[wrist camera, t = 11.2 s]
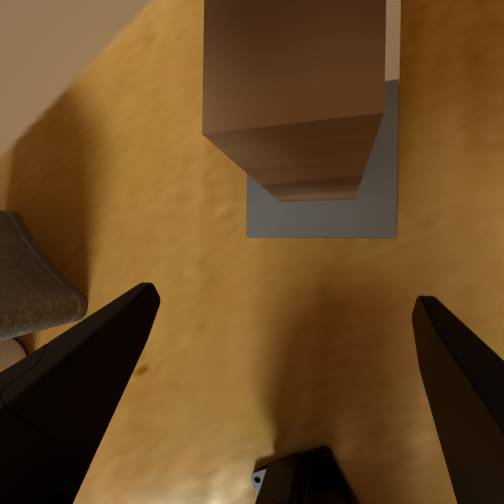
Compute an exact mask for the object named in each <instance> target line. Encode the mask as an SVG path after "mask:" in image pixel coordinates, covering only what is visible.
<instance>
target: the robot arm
mask: <svg viewBox="0 0 504 504" xmlns="http://www.w3.org/2000/svg"><path fill="white" fill-rule="evenodd" d="M159 305H160V296H159V294H158V292H157V290H156V288H155V286H154V285H153V284H152V283H147V282H142V283H140V284H138V285H137V286H135V287H134V288H132V289H130V290H129V291H127V292H126V293H124V294H123V295H121V296H120V297H118V298H116V299H115V300H113V301H112V302H110V303H109V304H107V305H106V306H104V307H103V308H101V309H99V310H98V311H96V312H95V313H93V314H92V315H90V316H89V317H87V318H86V319H84V320H82V321H81V322H79V323H78V324H76V325H75V326H73V327H72V328H70V329H68V330H67V331H65V332H64V333H62V334H61V335H59V336H58V337H56V338H55V339H53V340H51V341H50V342H49V343H47V344H45V345H44V346H42V347H41V348H39V349H37V350H36V351H34V352H33V353H31V354H30V355H28V356H26V357H25V358H23V359H22V360H20V361H18V362H17V363H15V364H13V365H12V366H10V367H8V368H6V369H5V370H3V371H1V372H0V504H73V502H74V500H75V497H76V495H77V493H78V491H79V489H80V486H81V484H82V482H83V480H84V478H85V476H86V473H87V471H88V469H89V467H90V464H91V462H92V460H93V458H94V456H95V453H96V451H97V449H98V447H99V445H100V443H101V440H102V438H103V436H104V434H105V432H106V429H107V427H108V425H109V423H110V421H111V419H112V416H113V414H114V412H115V410H116V408H117V405H118V403H119V401H120V399H121V397H122V395H123V392H124V390H125V388H126V386H127V384H128V381H129V379H130V377H131V375H132V373H133V371H134V368H135V366H136V364H137V362H138V360H139V357H140V355H141V353H142V351H143V349H144V347H145V344H146V342H147V340H148V337H149V334H150V332H151V329H152V326H153V323H154V320H155V317H156V314H157V311H158V308H159ZM412 323H413V330H414V336H415V343H416V350H417V356H418V362H419V368H420V372H421V376H422V380H423V384H424V387H425V391H426V394H427V398H428V401H429V405H430V408H431V412H432V415H433V419H434V423H435V426H436V430H437V433H438V437H439V440H440V444H441V447H442V451H443V454H444V458H445V461H446V465H447V468H448V472H449V476H450V479H451V483H452V486H453V490H454V493H455V497H456V500H457V504H504V360H503V359H501V358H500V357H499V356H498V355H497V354H496V353H495V352H494V351H493V350H492V349H491V348H490V347H489V346H487V345H486V344H485V343H484V342H483V341H482V340H481V339H480V338H479V337H478V336H477V335H476V334H475V333H473V332H472V331H471V330H470V329H469V328H468V327H467V326H466V325H465V324H464V323H463V322H462V321H460V320H459V319H458V318H457V317H456V316H455V315H454V314H453V313H452V312H451V311H450V310H449V309H448V308H446V307H445V306H444V305H443V304H442V303H441V302H440V301H439V300H438V299H437V298H435V297H434V296H418V297H417V299H416V303H415V306H414V310H413V313H412ZM322 454H327V455H328V457H324V456H323V455H322ZM256 476H258V477H260V479H258V478H257V477H256ZM251 480H252V483H253V485H254V487H255V489H256V492H257V494H258V496H257V499H256V503H255V504H359V502H358V500H357V498H356V496H355V494H354V492H353V490H352V488H351V486H350V485H349V483H348V481H347V479H346V477H345V475H344V473H343V471H342V469H341V467H340V465H339V463H338V461H337V460H336V458H335V456H334V454H333V452H332V450H331V449H330V448H329V447H327V446H321V447H318V448H316V449H313V450H310V451H307V452H304V453H295V454H292V455H289V456H286V457H283V458H280V459H277V460H274V461H271V462H269V463H268V465H266V466H263V467H260V468H257V469H255V470H254V471H253V473H252V476H251Z"/></svg>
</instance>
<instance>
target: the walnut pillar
mask: <svg viewBox="0 0 504 504" xmlns="http://www.w3.org/2000/svg"><path fill="white" fill-rule="evenodd" d="M385 45H386V0H204V57H203V127H202V134H203V135H204V136H205V137H206V138H207V139H209V140H210V141H211V142H212V143H213V144H214V145H215V146H217V147H218V148H219V149H220V150H221V151H222V152H224V153H225V154H226V155H227V156H228V157H229V158H230V159H232V160H233V161H234V162H235V163H236V164H237V165H238V166H240V167H241V168H242V169H243V170H244V171H245V172H246V173H248V174H249V175H250V176H251V177H252V178H253V179H254V180H256V181H257V182H258V183H259V184H260V185H261V186H262V187H264V188H265V189H266V190H267V191H268V192H269V193H270V194H272V195H273V196H274V197H275V198H276V199H277V200H279V201H280V202H299V201H326V200H353V199H355V198H356V195H357V192H358V189H359V186H360V183H361V180H362V177H363V174H364V171H365V168H366V165H367V162H368V159H369V156H370V153H371V150H372V147H373V144H374V141H375V138H376V136H377V133H378V130H379V127H380V124H381V121H382V118H383V115H384V102H385Z"/></svg>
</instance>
